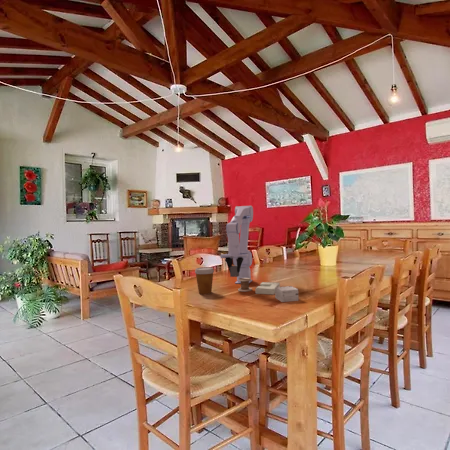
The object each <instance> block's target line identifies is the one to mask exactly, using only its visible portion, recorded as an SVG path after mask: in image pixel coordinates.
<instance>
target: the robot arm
mask: <svg viewBox="0 0 450 450" xmlns="http://www.w3.org/2000/svg"><path fill="white" fill-rule="evenodd" d="M253 219H254V207H253V206H252V205H241V206H238V205H236V206H235V207H234V216H233V217H232V218H231V220H230V222H228V223H226V226H225V230H226V237H227V244H228V245H227V246H228V247H227V248H228V253H225V254H224V253H222V254H220V255H219V256H220V257H219V258H220V259H224V261H225V263H226V265H227V268H228V270H229V271H228V272H230V267H231V266H237V273H239V276H238V277H236V281H235V282H234V284H241V281H239V279H240V278H250V279H251V280H250V281H249V284H250V283H252V282H253V279H252V275H251V274H252V273H251V268H250V267H251V266H252V264H253V256H252V255H253V254H252V252H251V251H250V250H249V249H248V248H249V247H248V246H249V245H248V244H249V233H250V223H252V222H253Z"/></svg>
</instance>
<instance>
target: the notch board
mask: <svg viewBox="0 0 450 450" xmlns="http://www.w3.org/2000/svg"><path fill="white" fill-rule="evenodd" d="M275 287H281V283H280V282H274V281H273V282H272V281H267V282H265V281H262V282H260V284H259V285H258V286H256V288H255V290H254V291H255V294H256V295H275Z"/></svg>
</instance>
